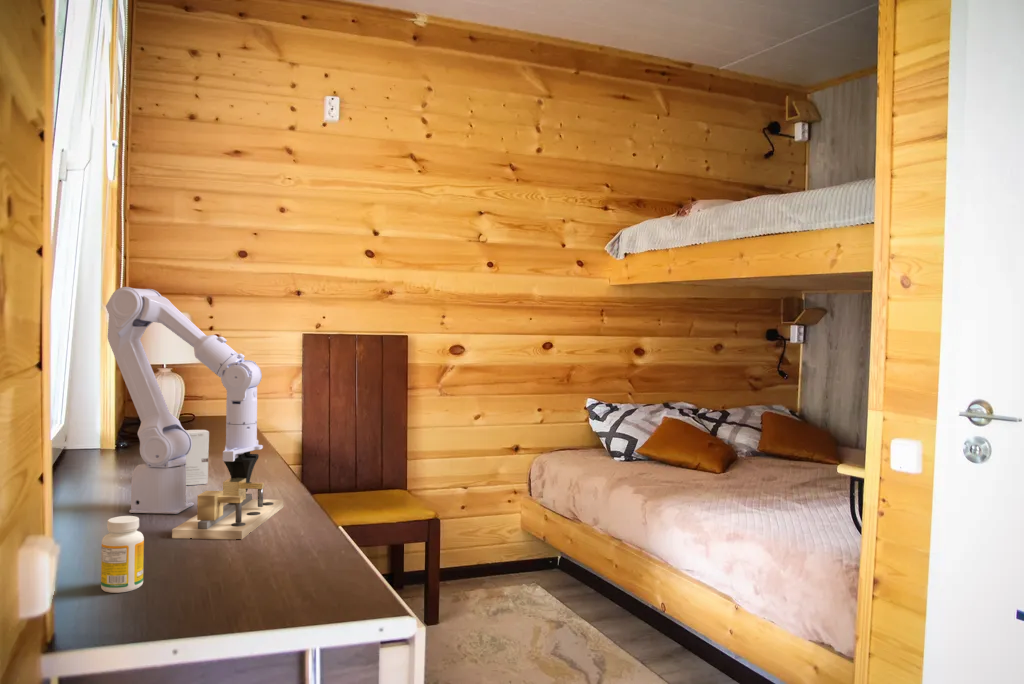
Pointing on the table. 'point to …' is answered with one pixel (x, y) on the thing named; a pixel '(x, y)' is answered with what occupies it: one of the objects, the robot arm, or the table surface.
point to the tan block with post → (242, 488)
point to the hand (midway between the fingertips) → (240, 492)
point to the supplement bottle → (122, 555)
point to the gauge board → (226, 516)
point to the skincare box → (197, 458)
